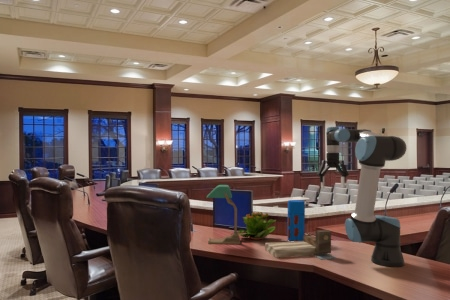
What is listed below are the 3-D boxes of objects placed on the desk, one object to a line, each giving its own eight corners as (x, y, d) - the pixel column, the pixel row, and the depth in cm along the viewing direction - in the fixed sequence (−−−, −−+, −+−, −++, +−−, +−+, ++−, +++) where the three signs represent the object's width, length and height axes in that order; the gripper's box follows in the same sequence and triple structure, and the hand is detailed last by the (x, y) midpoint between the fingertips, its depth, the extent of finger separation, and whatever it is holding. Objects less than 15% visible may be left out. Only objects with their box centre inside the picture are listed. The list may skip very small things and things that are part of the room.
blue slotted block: (304, 242, 220) (304, 202, 220) (287, 241, 222) (287, 201, 223) (304, 238, 230) (304, 200, 231) (287, 237, 233) (287, 199, 233)
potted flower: (245, 232, 247) (246, 207, 248) (279, 235, 239) (279, 209, 240) (234, 240, 224) (234, 212, 224) (271, 244, 216) (271, 215, 216)
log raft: (327, 254, 193) (327, 247, 193) (276, 257, 185) (276, 250, 186) (313, 247, 208) (313, 240, 208) (265, 250, 201) (265, 242, 201)
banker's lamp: (240, 245, 211) (240, 186, 211) (205, 245, 211) (206, 186, 212) (239, 239, 226) (240, 184, 227) (207, 239, 227) (207, 184, 228)
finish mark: (336, 258, 185) (336, 257, 185) (320, 259, 183) (320, 258, 183) (328, 254, 192) (328, 253, 192) (313, 255, 190) (313, 254, 190)
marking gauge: (332, 253, 187) (332, 231, 188) (320, 254, 186) (320, 232, 186) (312, 244, 208) (312, 224, 208) (301, 244, 206) (301, 224, 206)
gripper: (347, 152, 222) (347, 186, 221) (311, 152, 215) (311, 187, 215) (354, 152, 214) (354, 187, 214) (317, 152, 208) (317, 188, 208)
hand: (332, 187), depth 214 cm, fingers open, 13 cm apart
